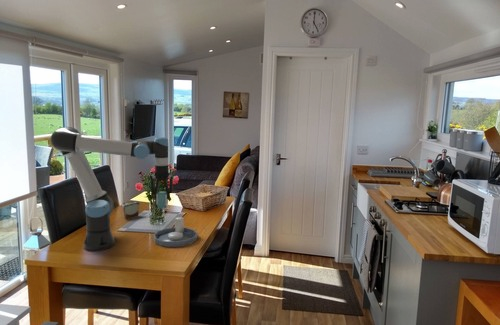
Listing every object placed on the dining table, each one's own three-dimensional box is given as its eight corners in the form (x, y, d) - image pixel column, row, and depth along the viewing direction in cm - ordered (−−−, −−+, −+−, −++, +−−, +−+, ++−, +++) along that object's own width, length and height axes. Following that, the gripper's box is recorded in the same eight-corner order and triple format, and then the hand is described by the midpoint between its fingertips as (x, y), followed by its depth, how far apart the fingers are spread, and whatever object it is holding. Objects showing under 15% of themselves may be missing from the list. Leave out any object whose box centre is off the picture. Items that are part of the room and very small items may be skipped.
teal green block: (165, 209, 217) (165, 193, 215) (156, 208, 217) (156, 193, 215) (167, 206, 222) (167, 191, 220) (159, 206, 222) (159, 191, 220)
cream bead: (182, 235, 217) (182, 220, 215) (174, 234, 217) (173, 219, 216) (184, 232, 222) (184, 217, 220) (176, 231, 222) (176, 217, 221)
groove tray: (190, 248, 200) (190, 243, 199) (147, 245, 202) (147, 240, 202) (201, 232, 223) (201, 228, 222) (162, 230, 225) (162, 226, 225)
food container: (135, 213, 258) (134, 199, 256) (140, 215, 254) (139, 201, 252) (118, 218, 248) (118, 203, 247) (124, 220, 244) (123, 204, 243)
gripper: (178, 164, 218) (178, 203, 222) (148, 163, 219) (149, 202, 223) (175, 166, 211) (175, 206, 215) (144, 165, 212) (145, 205, 216)
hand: (162, 204), depth 219 cm, fingers closed on teal green block, 5 cm apart
